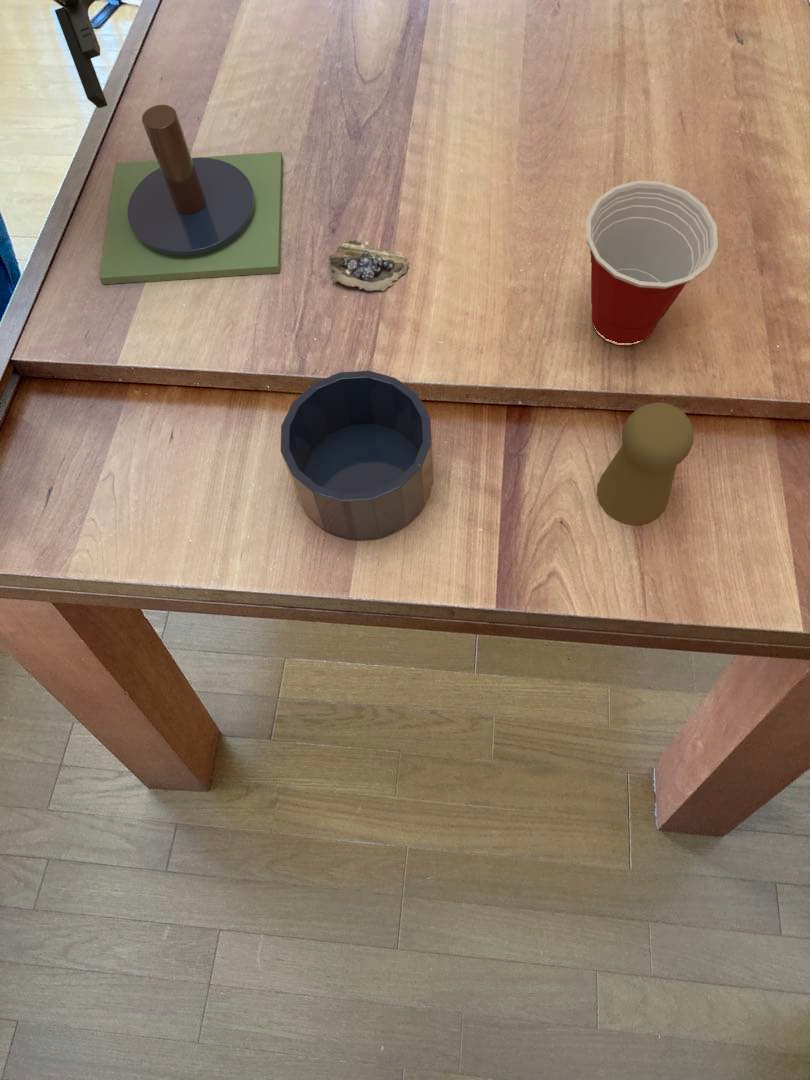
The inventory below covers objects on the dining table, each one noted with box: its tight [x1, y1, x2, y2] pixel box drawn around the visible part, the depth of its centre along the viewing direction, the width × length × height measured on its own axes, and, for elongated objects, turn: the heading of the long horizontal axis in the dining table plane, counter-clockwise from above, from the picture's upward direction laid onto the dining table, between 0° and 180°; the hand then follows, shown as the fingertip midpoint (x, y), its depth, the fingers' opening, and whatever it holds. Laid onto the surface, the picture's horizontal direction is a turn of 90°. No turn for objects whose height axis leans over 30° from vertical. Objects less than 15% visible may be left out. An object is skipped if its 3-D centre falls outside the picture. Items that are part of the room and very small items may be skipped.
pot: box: [280, 370, 434, 541], centre depth 69 cm, size 12×12×8 cm
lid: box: [127, 104, 255, 256], centre depth 80 cm, size 13×13×11 cm
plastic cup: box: [585, 180, 719, 343], centre depth 72 cm, size 11×11×12 cm
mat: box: [98, 151, 284, 285], centre depth 85 cm, size 18×16×1 cm
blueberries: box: [328, 239, 409, 292], centre depth 81 cm, size 7×8×2 cm
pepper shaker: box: [596, 402, 695, 526], centre depth 65 cm, size 6×6×11 cm
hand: (19, 130), depth 66 cm, fingers open, 13 cm apart
